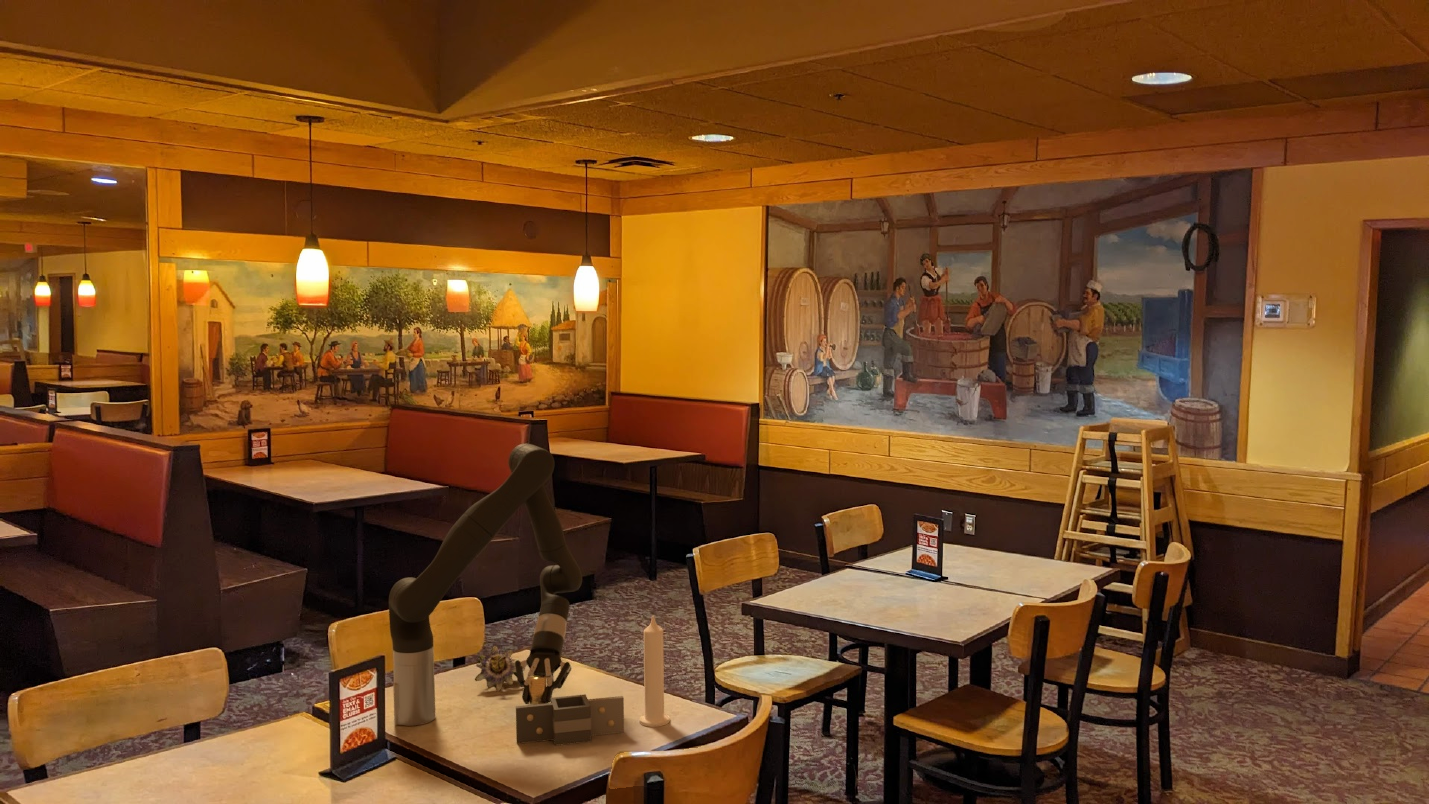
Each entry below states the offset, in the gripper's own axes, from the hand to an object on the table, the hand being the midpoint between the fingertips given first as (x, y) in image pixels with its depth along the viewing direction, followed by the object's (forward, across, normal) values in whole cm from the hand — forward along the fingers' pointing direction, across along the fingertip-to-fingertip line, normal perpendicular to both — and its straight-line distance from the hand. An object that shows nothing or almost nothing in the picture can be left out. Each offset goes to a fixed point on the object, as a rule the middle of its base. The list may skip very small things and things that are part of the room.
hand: (535, 702), depth 249 cm
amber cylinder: (+2, 0, +5) cm, 5 cm away
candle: (+1, +27, +6) cm, 28 cm away
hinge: (+9, +10, -2) cm, 14 cm away
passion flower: (-14, -17, +21) cm, 30 cm away
